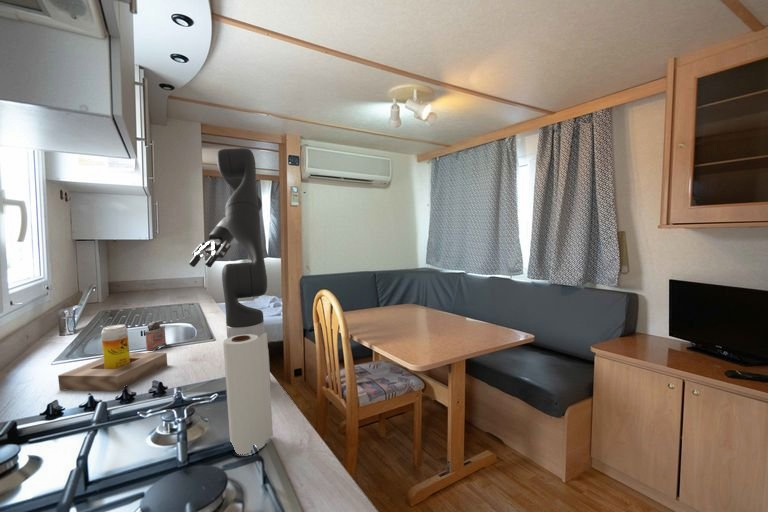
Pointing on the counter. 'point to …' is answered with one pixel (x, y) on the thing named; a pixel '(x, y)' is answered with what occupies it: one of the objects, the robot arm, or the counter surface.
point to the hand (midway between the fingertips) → (199, 265)
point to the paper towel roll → (248, 391)
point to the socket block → (112, 373)
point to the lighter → (155, 336)
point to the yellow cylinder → (115, 346)
